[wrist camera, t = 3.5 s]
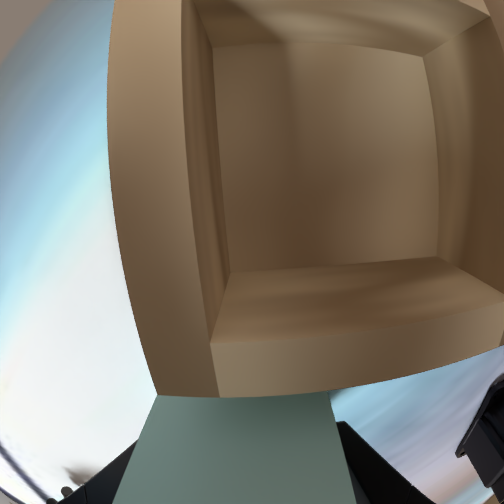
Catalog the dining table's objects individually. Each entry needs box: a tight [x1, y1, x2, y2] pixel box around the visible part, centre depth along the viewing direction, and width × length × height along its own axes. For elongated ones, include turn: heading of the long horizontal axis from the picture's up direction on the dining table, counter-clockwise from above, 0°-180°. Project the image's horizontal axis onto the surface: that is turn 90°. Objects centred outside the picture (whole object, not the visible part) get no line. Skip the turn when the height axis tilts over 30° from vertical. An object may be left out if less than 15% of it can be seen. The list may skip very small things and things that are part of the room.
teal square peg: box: [112, 391, 356, 504], centre depth 6 cm, size 4×4×9 cm
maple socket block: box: [107, 0, 504, 398], centre depth 6 cm, size 9×9×4 cm
